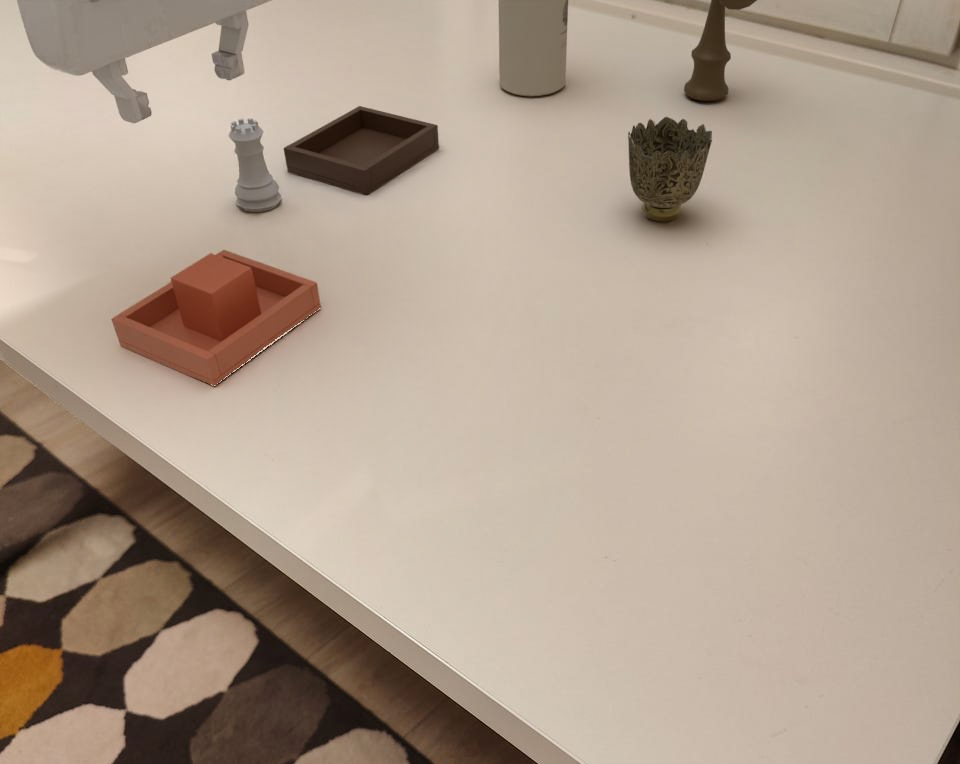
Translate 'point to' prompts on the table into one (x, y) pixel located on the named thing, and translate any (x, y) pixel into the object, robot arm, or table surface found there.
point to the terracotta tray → (170, 343)
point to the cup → (666, 165)
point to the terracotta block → (216, 296)
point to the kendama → (712, 54)
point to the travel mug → (532, 46)
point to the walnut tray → (362, 149)
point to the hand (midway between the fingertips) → (185, 96)
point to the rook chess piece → (252, 169)
